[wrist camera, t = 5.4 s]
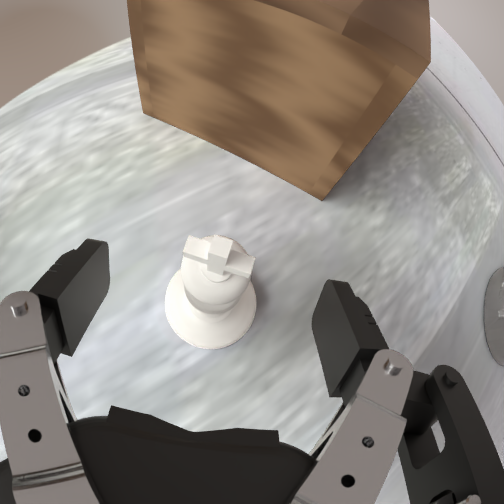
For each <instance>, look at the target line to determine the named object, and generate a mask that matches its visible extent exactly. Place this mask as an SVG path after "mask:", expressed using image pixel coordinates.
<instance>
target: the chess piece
mask: <svg viewBox="0 0 504 504" xmlns="http://www.w3.org/2000/svg"><path fill="white" fill-rule="evenodd" d="M183 255H184V257H183V260H182V264H181V269H179V270H178V271H177V272H176V274H175V275H174V276H173V278H172V279H171V281H170V283H169V285H168V288H167V291H166V297H165V310H166V315H167V318H168V321H169V323H170V325H171V327H172V328H173V330H174V331H175V332H176V334H177V335H178V336H179V337H180V338H182V339H183V340H184V341H186V342H187V343H189V344H191V345H193V346H196V347H199V348H203V349H219V348H224V347H227V346H229V345H231V344H233V343H235V342H237V341H238V340H239V339H241V338H242V337H243V336H244V335H245V334H246V332H247V331H248V330H249V328H250V326H251V325H252V322H253V320H254V317H255V313H256V294H255V290H254V287H253V285H252V283H251V281H250V280H251V275H252V268H253V265H254V262H255V257H252V256H249V255H248V254H247V252H246V251H245V249H244V248H243V247H242V246H241V245H240V244H239V243H238V242H236V241H235V240H233V239H231V238H228V237H225V236H219V235H213V236H207V237H204V238H201V239H199V238H196V237H193V236H190V235H189V236H188V239H187V242H186V244H185V247H184V249H183Z"/></svg>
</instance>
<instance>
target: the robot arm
mask: <svg viewBox="0 0 504 504" xmlns="http://www.w3.org/2000/svg"><path fill="white" fill-rule="evenodd" d="M109 285H110V272H109V249H108V244H107V242H105V241H99V240H94V239H86V240H85V241H84V242H83V243H82V244H81V245H80V246H79V247H78V249H77V250H74V249H73V250H71V251H69V252H67V253H65V254H63V255H62V256H61V257H60V258H59V259H58V260H57V261H56V262H55V265H54V264H53V265H52V266H51V267H50V269H49V271H47V272H46V273H45V274H44V275H43V276H42V277H41V278H40V280H39V281H38V282H37V283H36V284H35V285H34V286H33V287H32V289H31V290H30V291H29V292H28V291H19V292H15V293H12V294H10V295H8V296H7V297H6V298H5V299H3V301H2V302H1V304H0V425H1V430H2V435H3V440H4V444H5V448H6V452H7V456H8V458H7V459H5V460H3V461H2V462H0V504H374V503H375V501H376V499H377V497H378V495H379V492H380V490H381V488H382V486H383V484H384V481H385V479H386V477H387V474H388V472H389V470H390V467H391V465H392V462H393V460H394V457H395V454H396V452H397V449H398V453H399V457H400V461H401V465H402V469H403V473H404V477H405V481H406V486H407V490H408V495H409V500H410V504H504V469H503V466H502V463H501V461H500V458H499V456H498V453H497V450H496V448H495V445H494V443H493V441H492V438H491V436H490V433H489V431H488V429H487V427H486V424H485V422H484V420H483V418H482V415H481V413H480V411H479V409H478V407H477V405H476V403H475V401H474V399H473V397H472V395H471V393H470V391H469V389H468V387H467V385H466V383H465V381H464V379H463V377H462V376H461V375H460V373H459V372H458V371H456V370H455V369H454V368H452V367H450V366H447V365H438V366H437V367H436V368H435V369H434V370H433V372H432V373H431V374H430V375H428V374H424V373H421V372H417V371H413V367H412V365H411V363H410V362H409V360H408V359H407V358H406V357H405V356H403V355H402V354H400V353H399V352H396V351H394V350H390V349H389V347H388V345H387V343H386V341H385V339H384V337H383V335H382V333H381V331H380V329H379V327H378V325H376V321H375V319H374V318H373V317H372V314H371V312H370V310H369V308H368V306H367V305H366V304H365V303H364V302H363V301H362V300H361V299H360V298H359V297H355V295H354V293H353V291H352V289H351V287H350V285H349V283H348V282H342V281H336V280H327V281H326V283H325V285H324V287H323V290H322V293H321V295H320V298H319V300H318V303H317V305H316V308H315V310H314V313H313V317H312V330H313V334H314V337H315V341H316V345H317V349H318V353H319V357H320V361H321V364H322V368H323V372H324V376H325V380H326V384H327V388H328V392H329V397H342V399H343V403H342V405H341V406H340V407H339V409H338V411H337V412H336V414H335V416H334V417H333V419H332V420H331V422H330V424H329V425H328V427H327V428H326V430H325V431H324V433H323V434H322V436H321V438H320V439H319V441H318V442H317V443H316V445H315V446H314V448H313V449H312V450H311V451H310V453H309V454H307V453H305V452H304V451H302V450H300V449H298V448H296V447H294V446H291V445H288V444H286V443H283V442H279V434H278V430H258V429H244V428H233V429H225V430H215V431H204V432H191V431H188V430H185V429H183V428H180V427H178V426H175V425H173V424H170V423H168V422H166V421H163V420H161V419H159V418H156V417H154V416H152V415H148V414H144V413H139V412H135V411H131V410H127V409H123V408H119V407H115V406H112V405H111V408H110V411H109V414H108V416H94V417H88V418H83V419H80V420H77V418H76V416H75V414H74V411H73V409H72V406H71V403H70V400H69V397H68V394H67V391H66V388H65V385H64V382H63V378H62V375H61V371H60V368H59V364H58V361H57V358H58V357H59V355H60V353H62V354H65V355H68V356H71V357H72V356H73V354H74V352H75V350H76V348H77V346H78V344H79V342H80V341H81V339H82V337H83V335H84V333H85V331H86V330H87V328H88V326H89V324H90V322H91V321H92V319H93V317H94V315H95V314H96V312H97V310H98V309H99V307H100V305H101V303H102V302H103V300H104V298H105V297H106V295H107V293H108V290H109ZM484 323H485V332H486V338H487V342H488V346H489V349H490V352H491V354H492V356H493V358H494V359H495V360H496V361H497V363H499V364H500V365H502V366H504V267H503V268H500V269H498V270H497V271H496V272H495V273H494V274H493V275H492V277H491V279H490V281H489V284H488V287H487V291H486V296H485V305H484ZM437 420H438V421H439V423H440V426H441V429H442V431H443V434H444V437H445V447H444V449H443V451H442V452H441V453H440V452H439V449H438V446H437V443H436V440H435V437H434V434H433V431H432V429H431V426H432V425H433V424H434V423H435V422H436V421H437Z"/></svg>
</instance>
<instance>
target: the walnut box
mask: <svg viewBox="0 0 504 504" xmlns="http://www.w3.org/2000/svg"><path fill="white" fill-rule="evenodd" d="M127 6H128V16H129V25H130V33H131V40H132V48H133V55H134V62H135V68H136V74H137V80H138V86H139V92H140V98H141V103H142V109H143V113H144V114H147V115H149V116H151V117H154V118H156V119H159V120H161V121H163V122H166V123H168V124H170V125H172V126H175V127H177V128H179V129H182V130H184V131H186V132H188V133H190V134H193V135H195V136H197V137H199V138H201V139H204V140H206V141H208V142H210V143H212V144H214V145H216V146H218V147H220V148H223V149H225V150H227V151H229V152H231V153H233V154H235V155H237V156H239V157H241V158H243V159H245V160H247V161H249V162H251V163H253V164H255V165H257V166H259V167H261V168H262V169H264V170H266V171H268V172H270V173H272V174H274V175H276V176H278V177H280V178H281V179H283V180H285V181H287V182H289V183H291V184H293V185H294V186H296V187H298V188H300V189H302V190H303V191H305V192H307V193H309V194H311V195H312V196H314V197H316V198H318V199H319V200H321V201H322V200H323V199H324V198H325V197H326V195H327V194H328V193H329V192H330V190H331V189H332V188H333V187H334V186H335V184H336V183H337V182H338V181H339V179H340V178H341V177H342V176H343V174H344V173H345V172H346V171H347V169H348V168H349V167H350V166H351V164H352V163H353V162H354V161H355V159H356V158H357V157H358V156H359V154H360V153H361V152H362V150H363V149H364V148H365V147H366V145H367V144H368V143H369V142H370V140H371V139H372V138H373V137H374V135H375V134H376V133H377V131H378V130H379V129H380V128H381V126H382V125H383V124H384V122H385V121H386V120H387V119H388V117H389V116H390V115H391V113H392V112H393V111H394V110H395V108H396V107H397V106H398V104H399V103H400V102H401V101H402V99H403V98H404V97H405V95H406V94H407V93H408V91H409V90H410V89H411V87H412V86H413V85H414V84H415V82H416V81H417V80H418V78H419V77H420V76H421V74H422V73H423V72H424V70H425V69H426V68H427V66H428V65H429V64H430V62H431V38H430V15H429V1H428V0H127Z"/></svg>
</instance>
